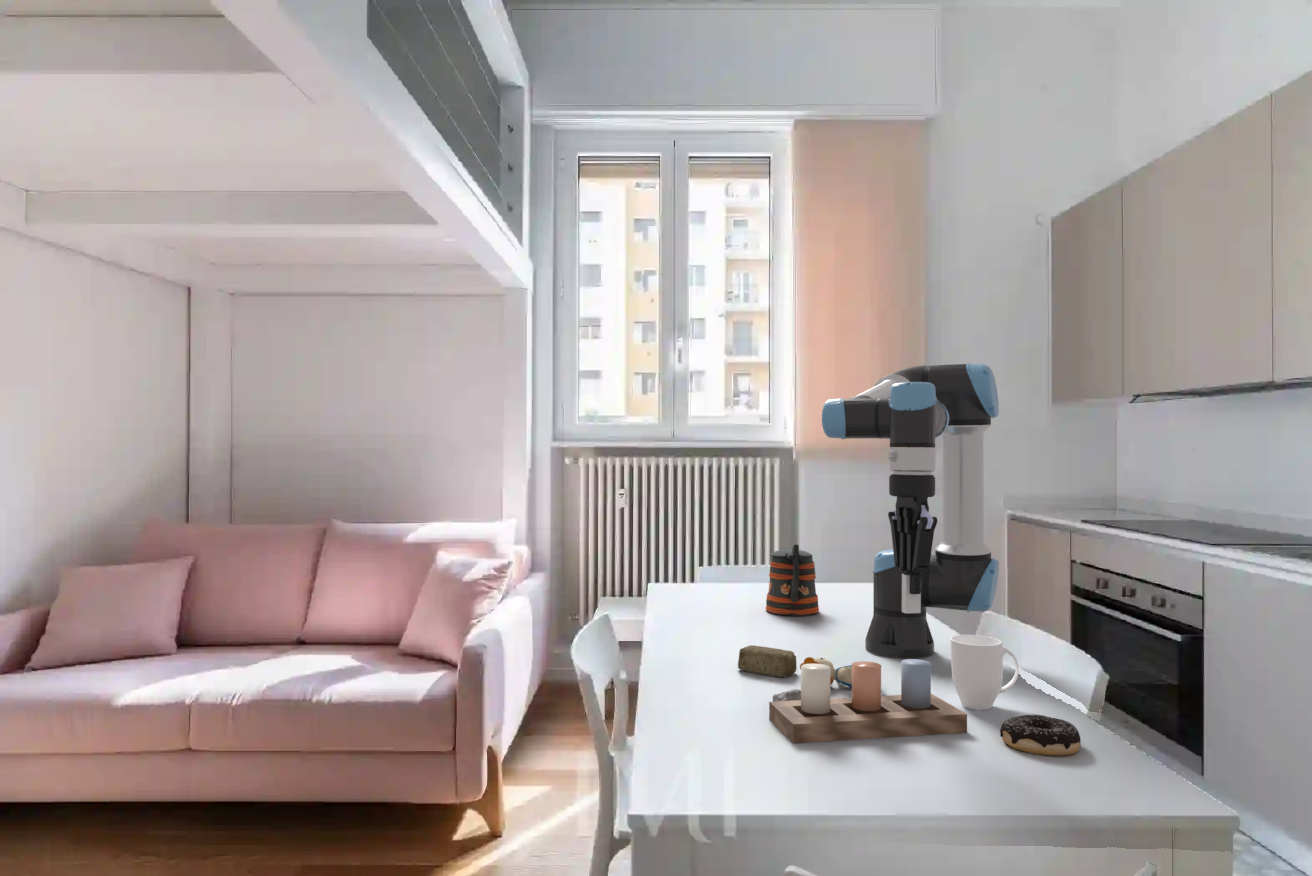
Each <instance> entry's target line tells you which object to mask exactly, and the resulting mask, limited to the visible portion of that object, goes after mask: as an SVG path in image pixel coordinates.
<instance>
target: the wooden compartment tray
mask: <svg viewBox="0 0 1312 876" xmlns="http://www.w3.org/2000/svg"><path fill="white" fill-rule="evenodd" d="M768 703H769V704H768V706H769V707H768V709H769V710H768V711H769V713H768V716H769V721H770V722H771V723H772V724H774V726H775V727H776V728H777V729H778V730H780V732H781V733H783V735H784V736H785V737H786V738H787V739H789V741H791V742H792V744H804V743H819V742H820V743H821V742H832V741H833V742H835V741H836V742H837V741H851V740H868V739H882V738H883V739H885V738H898V737H915V736H928V735H929V736H930V735H945V734H946V735H949V734H960V733H961V734H962V733H968V713H966V712H964V711H962V710H961V709H960V708H958V707H955V706H954V705H953V704H951V703H949V702H947V701H945V700H943V699H941V698H940V697H938V696H936V695H935V694H933V693H931V706H930V707H927V708H912V707H907V706H904V705H903V704H901V694H893V695H891V694H889V695H881V709H880V710H877V711H862V710H858V709H855V708H853V707H852V696H851V697H836V698H835V697H833V698H832V697H831V698H830V712H828V713H825V714H812V713H807V712H804V711H802V710H801V700H794V701H775V702H773V701H769V702H768Z"/></svg>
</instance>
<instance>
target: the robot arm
mask: <svg viewBox="0 0 1312 876" xmlns="http://www.w3.org/2000/svg"><path fill="white" fill-rule="evenodd" d="M998 394H999V393H998V388H997V383H996V378H995V375H994V372H993V370H992V369H991V367H990V366H989V365H987V364H983V363H982V364H981V363H969V362H968V363H961V364H958V363H957V364H956V363H955V364H935V365H914V366H911V367H905V368H903V369H900V370H897V371H894V372H891V373H888V374H887V375H885V376H882V377H881V378H879V379H878V380H877V382H876V383H875V384H874V386H873V387H871V388H869V389H867V390H864V391H863V392H861V393H859V394H857V395H855V396H853V397H849V398H842V397H838V398H831V399H830V398H829V399H828V400H825V403H823V407H822V410H821V411H822V412H821V425H822V426H821V427H822V430H823V433H824V434H825V436H826V437H827V438H830V439H840V440H847V439H848V440H849V439H880V440H881V439H883V440H885V439H887V440H889V453H888V455H887V458H888V459H889V470H890V471H891V472H893V474H890V475H889V477H888V494H889V495H890V496H891V497H896V502H895V509H894V511H889V512H888V514H887V516H888V520H889V524H890V530H891V540H892V541H891V542H892V549H886V550H885V549H884V550H882V551H879V552H877V553H876V554H875V556H874V559H873V570H872V574H873V612H872V613H873V615H872V619H871V621H870V624H869V627H868V630H867V633H866V637H865V640H864V641H865V644H864V645H865V650H866V651H867V652H870V653H872V654H874V655H879V656H884V657H890V658H902V659H916V658H917V659H918V658H919V659H920V658H925V657H926V658H927V657H929V656H932V655H934V654H935V642H934V639H933V638H934V637H933V636H932V632H931V629H930V626H929V623H928V619H927V608H934V609H935V608H936V609H946V610H956V611H964V612H965V611H966V612H967V613H969V612H987V611H989V610H990V609H991V607H992V606H993V602H994V599H995V595H996V591H997V585H998V579H999V572H1000V570H999V565H1000V563H999V560H998V559H996V558H994V557H992V550H991V548H990V547H989V546H988V545H986V544H985V541H984V540H985V536H984V535H985V534H984V531H985V529H984V527H985V526H984V523H985V522H984V521H985V520H984V516H985V515H984V512H985V511H984V509H985V507H984V501H985V500H984V497H985V496H984V482H985V481H984V436H985V435H984V434H985V432H987V431H988V429H989V428H991V426H992V419H994V418H997V417H998V416H999V411H1000V410H999V409H1000V408H999V396H998ZM940 436H941V438H942V439H941V445H942V447H941V453H942V454H941V457H942V458H941V463H942V464H941V468H942V469H941V470H942V471H941V473H942V475H941V476H942V477H941V478H942V479H941V481H942V485H941V486H942V488H941V489H942V490H941V491H942V493H941V494H942V495H941V497H942V503H941V505H942V506H941V507H942V516H941V517H942V541H941V542H940V543H939V544H938V545H937V546H936V547H935V549H934V551H935V554H934V555H932V548H933V544H934V543H933V542H934V533H935V529H936V527H937V525H938V517H937V516H931V514H930V513H929V512H930V507H929V501H928V499H929V498H933V497H934V496H935V495H936V476H935V475H934V474H933V472H935V471H936V454H937V453H936V452H937V451H936V449H937V448H936V438H938V437H940Z"/></svg>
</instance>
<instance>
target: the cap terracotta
mask: <svg viewBox="0 0 1312 876" xmlns="http://www.w3.org/2000/svg"><path fill="white" fill-rule="evenodd" d="M851 665H852V688H851V697H852V707H853V708H855V709H858V710H862V711H877V710H880V709H881V696H882V664H880V663H877V662H875V661H874V662H873V661H864V660H863V661H858V660H857V661H853V662H851Z"/></svg>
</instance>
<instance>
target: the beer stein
mask: <svg viewBox="0 0 1312 876" xmlns="http://www.w3.org/2000/svg"><path fill="white" fill-rule="evenodd" d="M791 547H792V548H791V549H790V548H786V549H781V550H780V549H779V550H775V551H773V552H770V554H769V556H770V557H772V558H771V560H770V564H769V565H770V566H769V574H768V577H769V582H768V591H767V594H766V599H765V602H766V603H765V611H766V612H767V613H768V612H769V613H772V614H775V615H781V616H796V617H797V616H804V617H805V616H810V615H815V614H817V613H819V611H820V608H819V597H818V596H819V595H818V594H817V591H816V582H815V581H816V578H817V576H816V574H817V573H816V568H815V562H814V560H813V554H811V553H810V552H809V551H805V550H801V549H800V547H799V544H798V543H797V544H796V543H794V544H793V545H792V546H791Z"/></svg>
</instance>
